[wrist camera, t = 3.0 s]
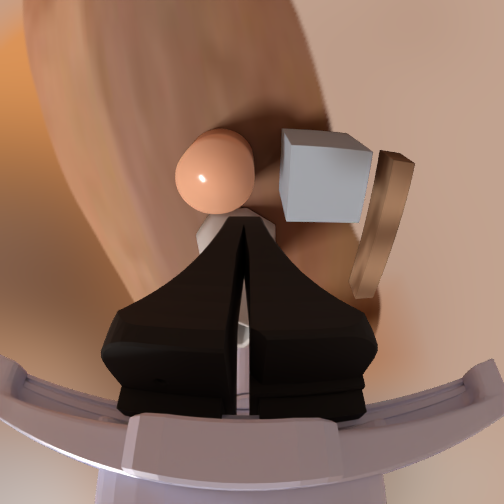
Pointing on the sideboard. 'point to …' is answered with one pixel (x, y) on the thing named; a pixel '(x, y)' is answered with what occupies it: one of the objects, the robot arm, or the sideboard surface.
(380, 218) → the walnut rail
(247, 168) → the peach egg shape
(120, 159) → the sideboard surface
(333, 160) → the slate block
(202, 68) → the sideboard surface
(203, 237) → the flask
